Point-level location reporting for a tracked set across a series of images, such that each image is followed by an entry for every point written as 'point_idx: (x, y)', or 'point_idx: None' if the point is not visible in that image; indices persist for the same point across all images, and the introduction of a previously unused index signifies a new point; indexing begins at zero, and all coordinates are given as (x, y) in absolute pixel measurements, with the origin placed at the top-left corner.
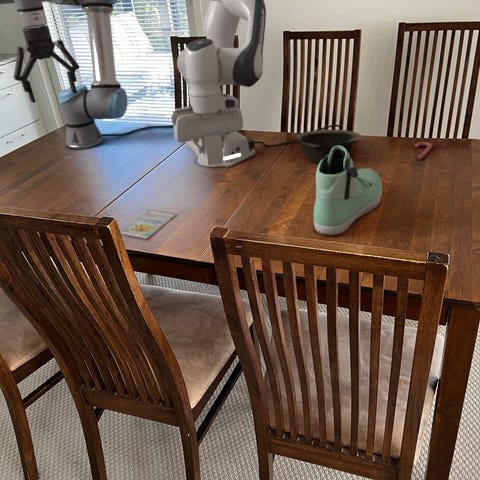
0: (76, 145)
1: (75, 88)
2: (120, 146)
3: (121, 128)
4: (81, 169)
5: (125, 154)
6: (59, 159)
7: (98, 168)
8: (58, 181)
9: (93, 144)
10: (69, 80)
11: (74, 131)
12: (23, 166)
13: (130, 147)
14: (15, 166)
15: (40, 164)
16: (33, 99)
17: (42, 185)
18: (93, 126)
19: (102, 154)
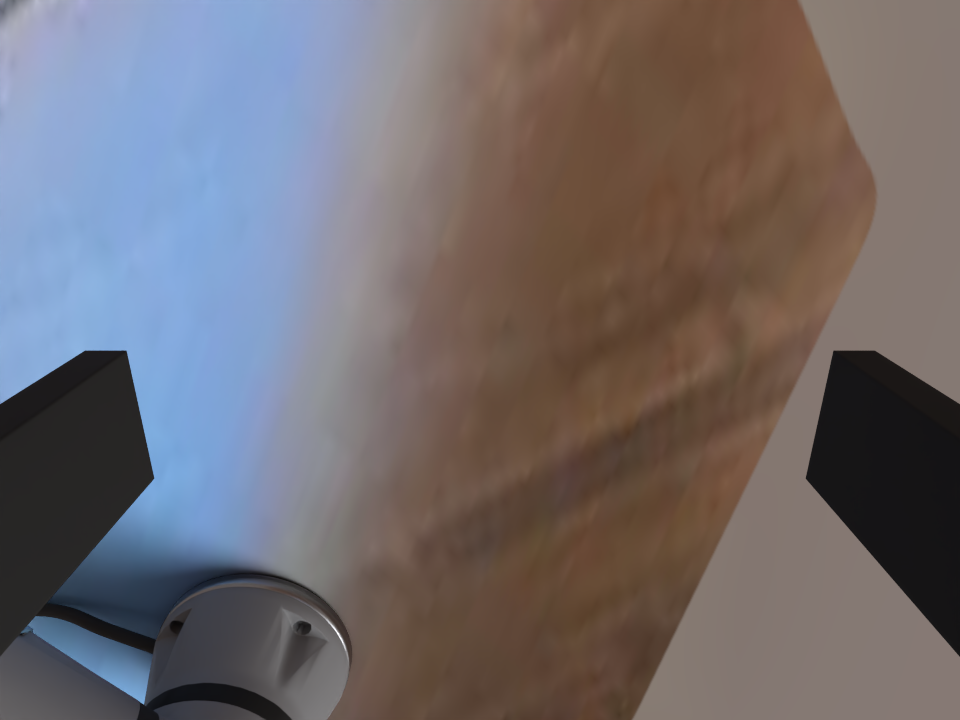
0: (315, 614)
1: (38, 386)
2: None
3: None
4: (399, 333)
5: None
6: (440, 544)
7: (317, 274)
8: (559, 267)
9: (232, 582)
10: (10, 585)
11: (284, 685)
12: (607, 584)
13: None
14: (634, 609)
15: (537, 551)
16: (888, 370)
17: (643, 281)
18: (165, 680)
19: (232, 448)
